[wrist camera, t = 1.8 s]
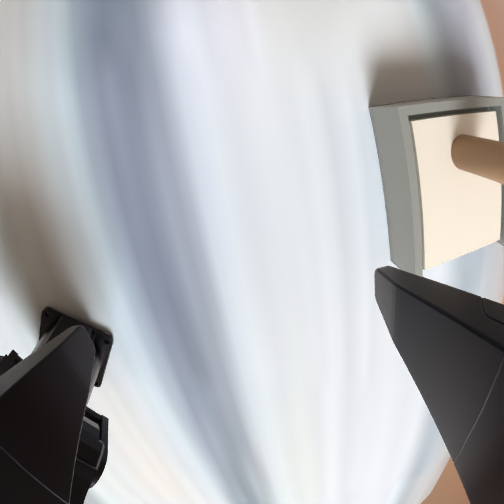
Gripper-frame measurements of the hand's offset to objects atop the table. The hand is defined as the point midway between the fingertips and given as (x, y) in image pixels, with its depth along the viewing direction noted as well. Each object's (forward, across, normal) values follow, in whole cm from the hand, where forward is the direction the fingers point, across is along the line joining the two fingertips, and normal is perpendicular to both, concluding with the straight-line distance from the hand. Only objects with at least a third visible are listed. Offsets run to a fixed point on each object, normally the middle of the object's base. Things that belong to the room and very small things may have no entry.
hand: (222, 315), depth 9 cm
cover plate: (+11, -16, +1) cm, 19 cm away
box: (+13, -16, +1) cm, 21 cm away
